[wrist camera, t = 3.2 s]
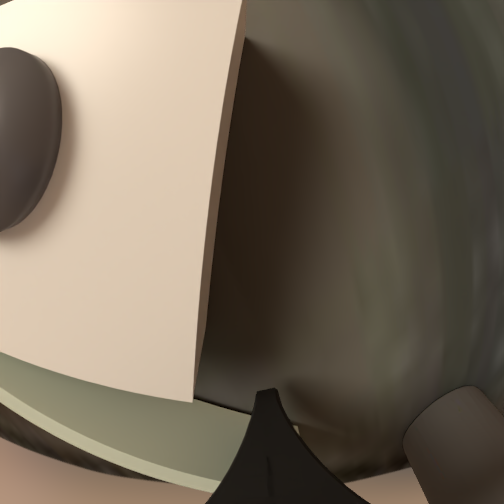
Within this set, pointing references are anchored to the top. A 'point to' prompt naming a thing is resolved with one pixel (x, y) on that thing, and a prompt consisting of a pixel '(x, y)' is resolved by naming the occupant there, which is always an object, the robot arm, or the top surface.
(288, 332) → the top surface
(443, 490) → the bottle
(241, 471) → the robot arm
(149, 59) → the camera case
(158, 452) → the cream flat bar
